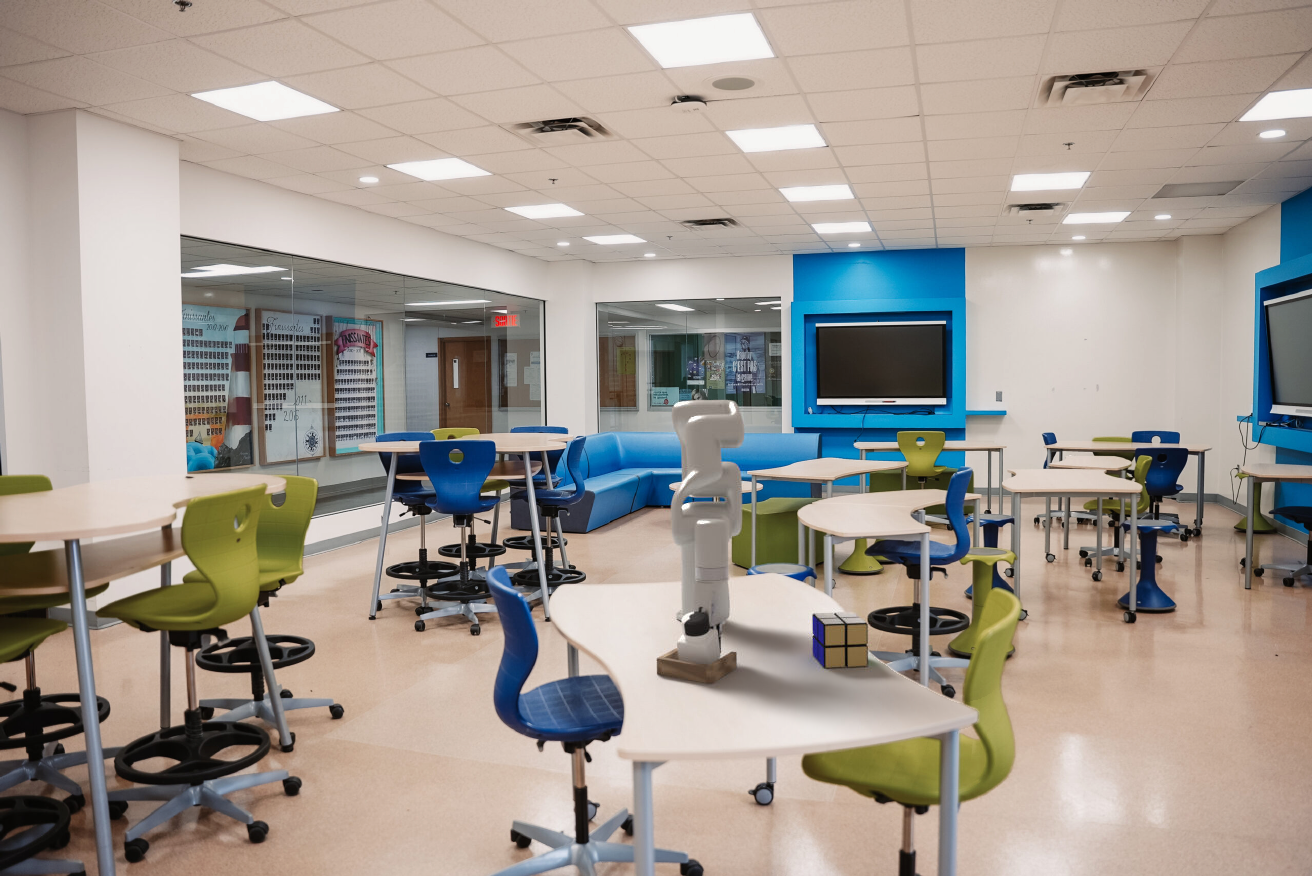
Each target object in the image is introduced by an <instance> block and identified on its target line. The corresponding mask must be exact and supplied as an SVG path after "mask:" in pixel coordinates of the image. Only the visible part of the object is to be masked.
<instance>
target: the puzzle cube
mask: <svg viewBox="0 0 1312 876" xmlns="http://www.w3.org/2000/svg"><path fill="white" fill-rule="evenodd" d="M811 622H812V623H811V624H812V627H811V629H812V656H813V657H814V658H815V659H816V660H817V661H818V662H819V664H820V665H821V666H822V667H823V668H824V669H841V668H842V669H843V668H844V669H845V668H866V667H865V666H867V667H869V666H868V665H869V649H868V647H869V646H868V644H869V643H868V642H869V641H868V640H869V638H868V637H869V636H868V635H869V634H868V633H869V630H868V629H869V628H868V627H869V626H868V625H869V623H867V622H866V621H865V620H864V619H863V618H862V617H860V616H859V615H858V614H856V613H855V612H854V611H845V612H844V611H843V612H842V611H838V612H834V613H833V612H817V613H812V620H811ZM863 666H864V667H863Z"/></svg>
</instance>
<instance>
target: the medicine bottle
mask: <svg viewBox="0 0 1312 876" xmlns="http://www.w3.org/2000/svg"><path fill="white" fill-rule="evenodd" d="M681 628H682V635H681V636H680V637H679V639H678V641H677V642H676V648H678V656H679V660H681V661H687V662H693V663H699V664H705V665H710V664H711V663H713V662H715V661H717V660H718V659H720V658H721V655H722V654H721V653H720V647H719V639H718V631H717V630H716V629H710V624H709V617H708V615H707V614H705V613H703V612H698V611H697V612H690V613H688V614H686V615H684V616H683V618H682V620H681Z"/></svg>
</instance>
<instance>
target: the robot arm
mask: <svg viewBox="0 0 1312 876" xmlns="http://www.w3.org/2000/svg"><path fill="white" fill-rule="evenodd" d="M742 417H743V416H742V414H741V412H740V408H739V406H738V404H737V402H736V401H734V400H730V399H729V400H728V399H713V400H712V399H711V400H709V399H708V400H707V399H700V400H699V399H698V400H696V399H695V400H694V399H692V400H684V401H678V402H676V403H675V404H674V405H673V406H672V409H671V420H672V424H673V428H674V429H675V432H676V435H677V437H678V440H679V443H680V447H681V483H680V484H679V485H678V486H677V488H676V489H675V492H674V494H673V496H672V498H671V499H672V500H671V504H670V516H671V517H670V521H671V522H670V523H671V524H670V525H671V526H670V527H671V535H672V536H671V537H672V540H673V542H674V543H675V544H676V545H677V546H679V547H680V565H681V566H680V572H681V573H680V575H681V579H680V580H681V610H679V611H677V612H676V613H675V615H676V617H675V619H677V621H678V620H679V621H681V620H682V618H683V616H684V615H686V614H688V613H690V612H697V611H698V612H703V613H705V614H707V615H708V617H709V624H710V629H716V630H717V631H718V639H719V647H720V654H721V653H722V642H721V641H722V637H721V636H722V634H723V626H724V625H725V624H726V623H727V622H726V621H727V620H728V619H729V618H730V615H731V614H730V611H731V607H730V603H731V602H730V587H729V583H728V582H729V578H730V577H729V543H730V540H731V539H732V537H735V536H738V535H740V533H741V530H742V526H743V494H742V493H743V488H742V484H743V483H742V474H741V469H740V467H739V466H738V464H736V463H735V462H732V461H722V449H736V448H740V447H741V446H742V445H743V443H744V440H745V427H744V426H745V425H744V421H743V418H742ZM688 497H691V498H722V499H724V501H692V502H688V503H684V502H685V501H686V500H687V499H686V498H688ZM681 622H682V621H681Z"/></svg>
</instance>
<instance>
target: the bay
mask: <svg viewBox="0 0 1312 876" xmlns="http://www.w3.org/2000/svg"><path fill="white" fill-rule="evenodd" d="M737 655H738V653H737V651H731V652H729V653H726V654H725V655H724V656H722V657H720V658H719V659H718V660H717V661H715V662H713V663H711V664H710V665H705V664H699V663H693V662H687V661H681V660H679V656H678V648H677V647H675V648H674V649H672V650H670V651H668V652H666V653H664V654H662V655H660V656H658V657H657V658H656V675H661V676H666V677H671V678H677V679H682V680H689V681H693V682H697V683H698V682H699V683H703V684H708V685H709V684H710V685H712V684H713V683H715V682H717V681H718V680H720V679H722V678H723V677H724V676H726V675H727V674H730V673H731V672H733V671H734V670H735V669H737V668H738V666H737V665H738V663H737V659H738V658H737Z"/></svg>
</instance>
